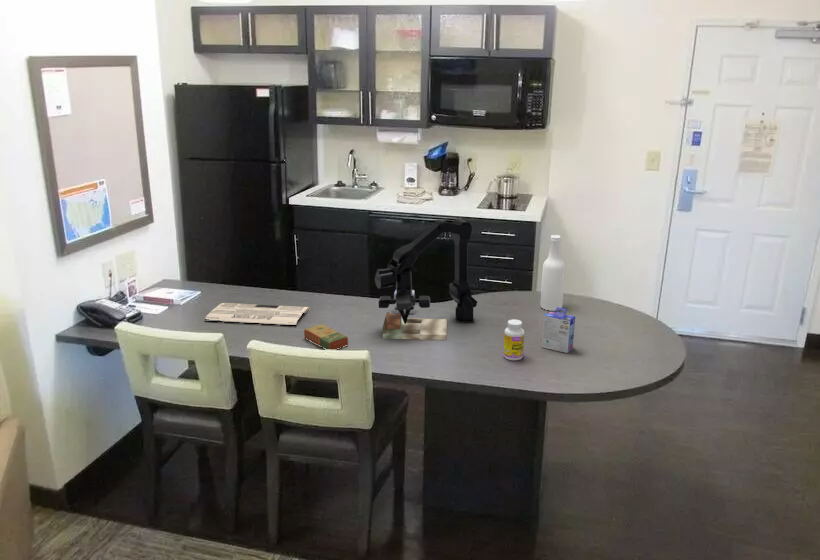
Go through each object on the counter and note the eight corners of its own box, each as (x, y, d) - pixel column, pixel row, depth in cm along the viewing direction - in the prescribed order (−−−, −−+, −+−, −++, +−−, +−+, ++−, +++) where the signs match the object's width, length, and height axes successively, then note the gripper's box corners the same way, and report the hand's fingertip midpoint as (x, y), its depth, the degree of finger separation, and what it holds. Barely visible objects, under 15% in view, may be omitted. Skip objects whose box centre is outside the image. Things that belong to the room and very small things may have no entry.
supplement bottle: (509, 362, 224) (511, 327, 220) (499, 354, 229) (501, 320, 225) (526, 358, 226) (528, 323, 222) (516, 351, 232) (518, 317, 228)
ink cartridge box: (573, 348, 234) (576, 309, 229) (568, 354, 230) (571, 314, 225) (546, 342, 239) (549, 304, 234) (541, 347, 235) (543, 309, 230)
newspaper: (310, 311, 271) (309, 305, 270) (294, 330, 253) (294, 323, 252) (224, 307, 277) (223, 300, 276) (203, 325, 259) (202, 318, 258)
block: (401, 323, 251) (401, 313, 250) (400, 328, 247) (400, 318, 245) (388, 323, 252) (387, 313, 250) (386, 328, 247) (386, 318, 246)
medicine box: (415, 310, 270) (414, 289, 267) (414, 314, 266) (413, 293, 263) (395, 309, 271) (395, 289, 268) (394, 313, 267) (393, 293, 264)
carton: (323, 333, 249) (322, 323, 248) (348, 347, 238) (348, 336, 236) (304, 339, 244) (303, 328, 243) (329, 353, 233) (329, 342, 231)
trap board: (446, 324, 256) (446, 313, 254) (446, 340, 242) (446, 328, 240) (386, 322, 257) (386, 312, 256) (382, 338, 243) (382, 327, 242)
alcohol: (539, 303, 276) (543, 232, 266) (561, 304, 275) (566, 233, 265) (540, 311, 267) (544, 238, 258) (563, 312, 266) (568, 239, 257)
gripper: (375, 291, 237) (378, 332, 242) (428, 290, 235) (429, 331, 240) (379, 281, 247) (381, 320, 252) (429, 280, 246) (430, 320, 251)
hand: (405, 323), depth 249 cm, fingers closed
